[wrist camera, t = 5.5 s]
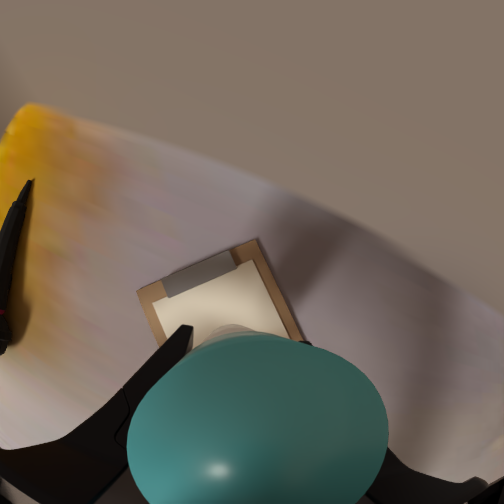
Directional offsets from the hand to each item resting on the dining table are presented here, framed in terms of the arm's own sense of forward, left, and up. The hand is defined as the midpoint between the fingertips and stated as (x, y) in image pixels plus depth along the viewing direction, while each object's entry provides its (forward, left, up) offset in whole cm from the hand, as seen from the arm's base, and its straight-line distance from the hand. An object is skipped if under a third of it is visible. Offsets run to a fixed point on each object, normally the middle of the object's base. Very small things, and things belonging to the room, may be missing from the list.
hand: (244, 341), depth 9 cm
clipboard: (-1, +1, -13) cm, 13 cm away
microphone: (+14, +20, -14) cm, 28 cm away
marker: (-1, +1, -7) cm, 7 cm away
